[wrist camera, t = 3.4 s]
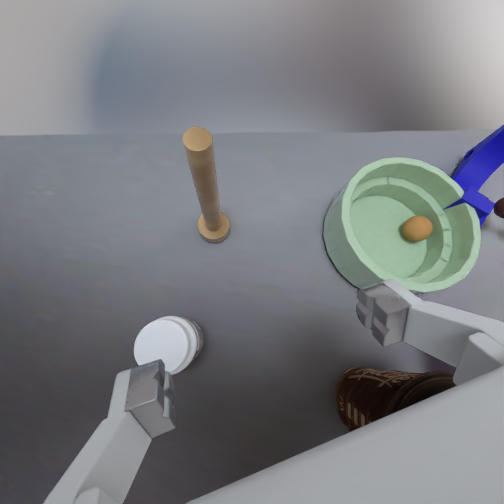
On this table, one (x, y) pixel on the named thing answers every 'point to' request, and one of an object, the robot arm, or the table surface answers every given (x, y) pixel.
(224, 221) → the stirring stick
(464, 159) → the blue curved piece
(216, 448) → the table surface
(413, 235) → the ball
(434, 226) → the bowl
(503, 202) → the toy figure
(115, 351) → the table surface
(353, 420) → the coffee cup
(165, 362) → the pill bottle
